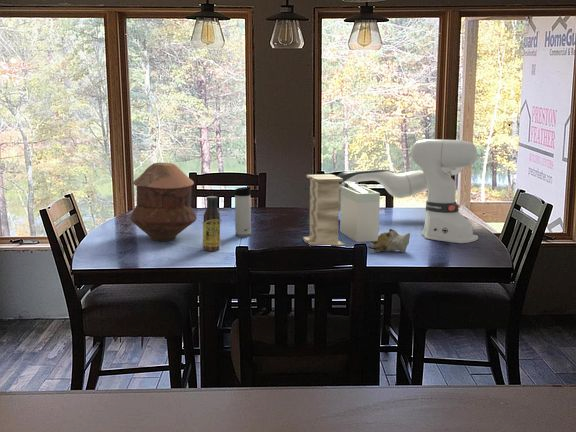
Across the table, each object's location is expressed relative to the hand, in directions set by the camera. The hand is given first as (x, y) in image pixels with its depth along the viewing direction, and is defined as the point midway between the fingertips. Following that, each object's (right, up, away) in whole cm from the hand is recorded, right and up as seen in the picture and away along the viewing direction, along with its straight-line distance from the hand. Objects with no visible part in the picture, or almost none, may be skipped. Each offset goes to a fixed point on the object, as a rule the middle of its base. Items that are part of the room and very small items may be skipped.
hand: (349, 184), depth 271 cm
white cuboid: (+3, -21, -8) cm, 23 cm away
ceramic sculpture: (+12, -27, -32) cm, 43 cm away
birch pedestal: (-12, -24, -21) cm, 34 cm away
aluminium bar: (+2, -4, -7) cm, 8 cm away
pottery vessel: (-75, -22, -13) cm, 79 cm away
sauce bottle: (-54, -26, -31) cm, 68 cm away
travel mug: (-44, -21, -8) cm, 49 cm away
